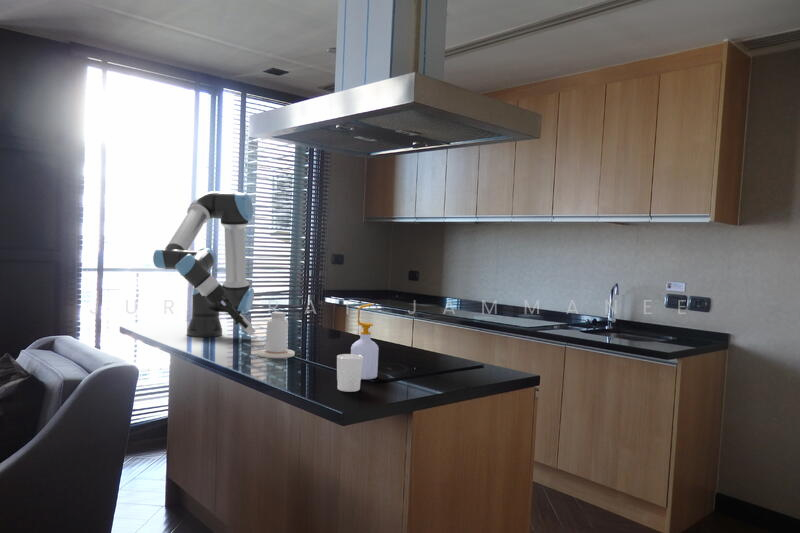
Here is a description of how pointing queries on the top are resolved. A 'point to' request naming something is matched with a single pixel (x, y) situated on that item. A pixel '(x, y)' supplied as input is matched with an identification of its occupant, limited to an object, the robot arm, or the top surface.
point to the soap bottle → (366, 350)
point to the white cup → (349, 372)
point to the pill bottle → (277, 333)
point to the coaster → (276, 354)
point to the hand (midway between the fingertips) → (251, 330)
